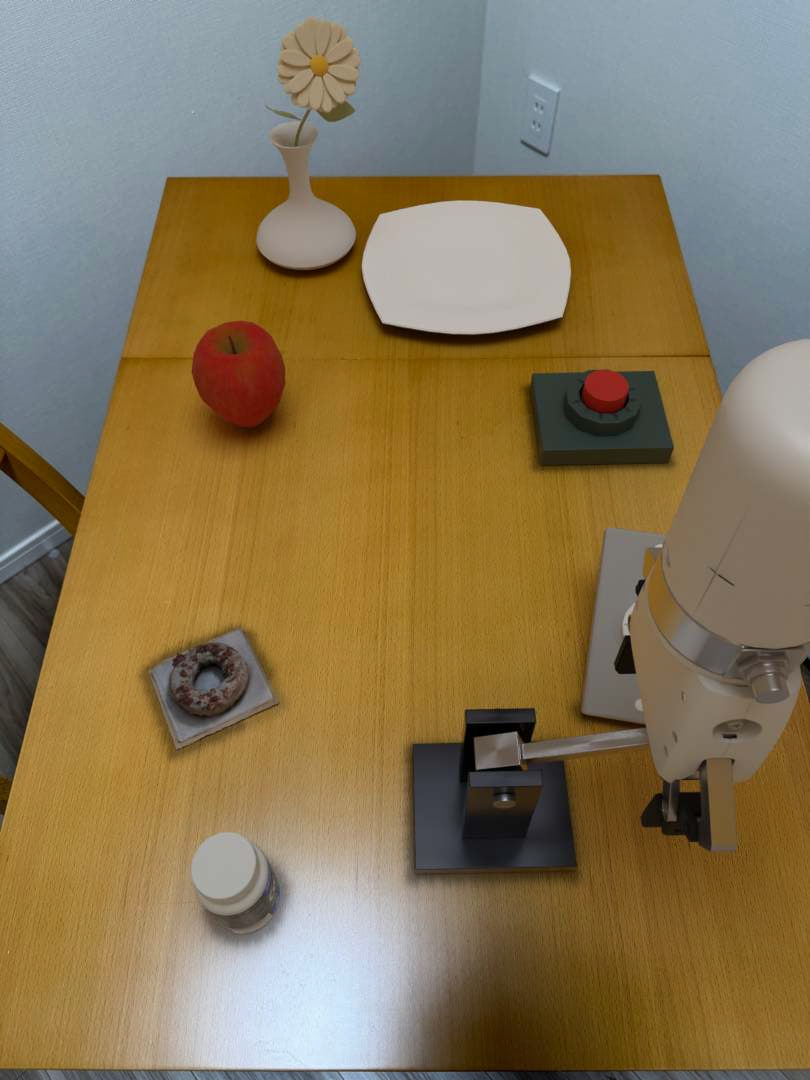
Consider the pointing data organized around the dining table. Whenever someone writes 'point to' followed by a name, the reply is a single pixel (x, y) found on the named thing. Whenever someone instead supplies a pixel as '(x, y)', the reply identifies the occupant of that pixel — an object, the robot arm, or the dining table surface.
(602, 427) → the block
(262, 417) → the apple
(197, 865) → the pill bottle
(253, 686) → the donut
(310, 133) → the flower in vase
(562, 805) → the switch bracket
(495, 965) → the dining table surface
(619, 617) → the light switch
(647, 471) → the dining table surface
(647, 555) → the robot arm
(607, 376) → the stop button
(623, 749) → the switch lever
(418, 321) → the plate
